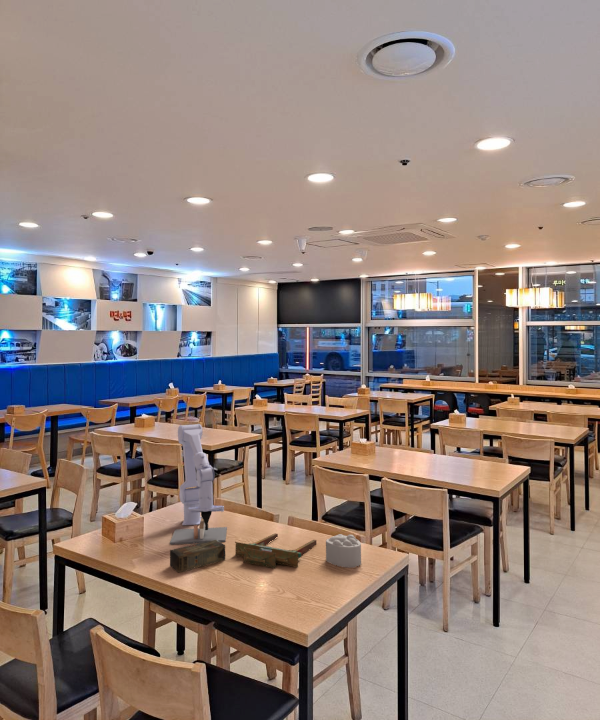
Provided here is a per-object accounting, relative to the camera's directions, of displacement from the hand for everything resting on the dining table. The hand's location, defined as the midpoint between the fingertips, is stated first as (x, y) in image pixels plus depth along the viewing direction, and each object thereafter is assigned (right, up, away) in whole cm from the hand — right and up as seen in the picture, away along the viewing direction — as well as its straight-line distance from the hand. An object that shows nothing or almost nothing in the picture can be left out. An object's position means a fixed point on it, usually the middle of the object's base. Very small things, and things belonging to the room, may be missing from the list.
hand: (206, 529), depth 226 cm
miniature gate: (+30, -3, -21) cm, 37 cm away
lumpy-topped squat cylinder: (+55, -3, -30) cm, 63 cm away
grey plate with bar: (-3, -3, -1) cm, 4 cm away
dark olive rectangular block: (+2, -4, -29) cm, 29 cm away
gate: (-2, -2, -1) cm, 2 cm away
